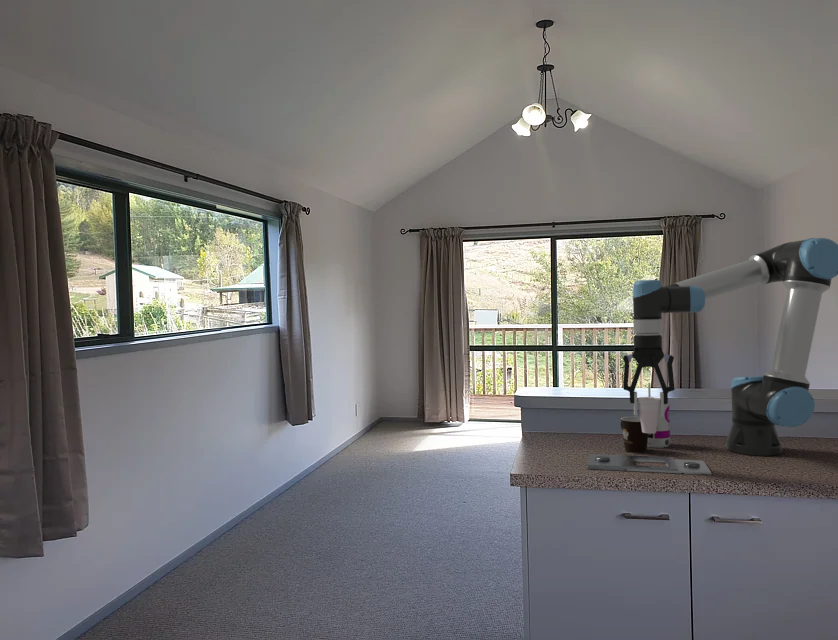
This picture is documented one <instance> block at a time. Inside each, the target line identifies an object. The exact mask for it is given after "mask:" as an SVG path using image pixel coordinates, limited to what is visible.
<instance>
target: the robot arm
mask: <svg viewBox="0 0 838 640" xmlns="http://www.w3.org/2000/svg"><path fill="white" fill-rule="evenodd" d="M837 276H838V243H836V242H835V241H834V240H831V239H830V238H826V237H818V238H817V237H810V238H807V239H802V240H798V241H797V240H795V241H791V242H790V241H788V242H785V243H782V244H779V245H777V246H774V247H772V248H769V249H767V250H765V251H761V252H759V253H757V254H756V253H755V254H753V255H751V256H750V257H749V258H748V260H745V261H741V262H739V263H735V264H732V265H729V266H726V267H723V268H718V269H716V270H712V271H710V272H707V273H703V274H701V275H697V276H694V277H691V278H687V279H684V280H681V281H678V282H674V283H672V284H668V285H664V286H663V285H662V281H661V280H659V279H642V280H636V281H635V282H634V283H633V287H632V306H633V309H632V310H633V333H634V336H633V352H632V353H630V354H627V355H626V354H624V355H622V359H623V362H624V365H623V366H624V367H623V381H622V382H623V383H622V388H623V390H625V391H627V392H629V403H630V404H633V415H634V417H638V402H637V398H638V392H637V391H635V390H636V387H637V385H638V381H639V379H640V375H641V372H642V370H643V368H648V367H649V368H653V369H654V371H655V373H656V374H655V375H656V377H657V380H658V382H659V385H660V387H661V390H662V391H659V398H660V402H661V403H660V415H661V416H664V404H667V403H669V396H668V395H669V392H673V391H675V390H676V389H675V381H674V379H675V378H674V370H673V369H674V368H673V363H674V356H673V355H672V354H671V355H669V354H665V352H664V351H663V335H661V333H662V332H663V328H662V327H663V325H662V319H663V317H662V316H663V315H662V314H684V313H685V314H686V313H687V314H692V313H700V312H701V311H702V310H703V309H704V307H705V305H706V300H708V299H711V298H714V297H718V296H720V295H724V294H727V293H731V292H734V291H737V290H740V289H744V288H747V287H750V286H754V285H756V284H757V285H759V286H763V285H767V284H771V283H777V282H778V283H779V282H782V284H783V286H784V287H785V288H786V294H785V298H784V304H783V308H782V314H781V317H780V323H779V327H778V334H777V337H776V343H775V348H774V352H773V358H772V362H771V366H770V370H768V371H767V372H765V373H764V374H763V375H762V376H761V375H760V376H758V375H757V376H736V377H734V378H732V379H731V388H730V391H731V418H732V419H731V420H732V421H731V427H730V428H729V429H730V430H729V432H728V435H727V437H726V438H727V439H726V443H725V444H726V446H725V447H726V450H727V451H729V452H730V451H731V452H733V453H736V454H737V453H738V454H741V455H742V454H743V455H749V456H776V455H778V456H779V455H781V454H782V453H783V446H782V445H783V444H782V443H781V439H780V437H779V433H778V432H777V431H778V430H777V428H776V426H779V427H785V428H796V427H799V426H802V425H803V424H805V423H807V422H808V421H809V420H810V419H811V417H812V415H813V414H814V411H815V406H816V402H815V399H814V398H813V395H812V393H810V392H809V390H810V384H811V383H810V381H809V380H808V378H806V374H807V370H808V369H807V368H808V363H809V358H810V355H811V354H810V353H811V349H812V344H813V339H814V335H815V329H816V325H817V320H818V315H819V311H820V305H821V301H822V295H823V294H824V293H825V292H826V291H828V290H830V288H831V284H832V279H833V278H835V277H837ZM632 359H634V361H635V362H636V363H637V365H636V369H635V372H634V374H633V378H632V381H631V384H630V386H629V375H630V363H632ZM663 359H664V362H665V363H666V370H667V378H668V386H667V385H666V382H665V380H664V379H665V378H664V376H663V374H662V371H661V368H660V365H659V364H660V362H661V361H662V360H663Z"/></svg>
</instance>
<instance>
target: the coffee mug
mask: <svg viewBox="0 0 838 640" xmlns="http://www.w3.org/2000/svg"><path fill="white" fill-rule="evenodd" d="M620 428H621V430H622V436H623V444H624V451H625V452H628V453H633V454H641V453H642V454H643V453H646V452H647V451H648V450H647V449H648V446H647V442H648V433H643V432H642V427H641V420H640V416H624V417H621V418H620Z"/></svg>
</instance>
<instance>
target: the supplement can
mask: <svg viewBox="0 0 838 640" xmlns="http://www.w3.org/2000/svg"><path fill="white" fill-rule="evenodd" d="M670 408H671V407H670V403H669V402H668V403H667V404H664V416H661V415H660V403H659V411H658V420H657V428H656V433H653V434H649V433H648V442H647V448H655V449H661V448H662V449H663V448H664V447H665V448H667V447H669V446H670V445H671V417H670V415H671V414H670V413H671V412H670V411H671V410H670Z"/></svg>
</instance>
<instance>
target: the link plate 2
mask: <svg viewBox="0 0 838 640" xmlns="http://www.w3.org/2000/svg"><path fill="white" fill-rule="evenodd" d="M673 459H674V461H675V463H676V465H677V468H678V471H664V470H643V469H625V472H626V471H627V472H642V473H663V474H664V473H665V474H681V473H684V474H686V475H702V474H707V475H706V476H712V475H713V474H712V471H711V470H710V468H709V467H708V466H707V463H706V462H705V460H695V459H675V458H673ZM633 462H636V463H637V462H641V463H642V462H643V463H659V464H663V463H664V464H665V465H666V467H668V466H667V463H666V461H660V460H636V459H633Z"/></svg>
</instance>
